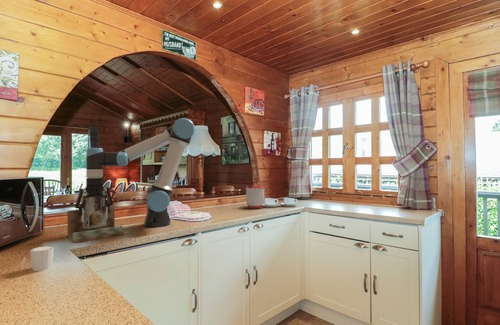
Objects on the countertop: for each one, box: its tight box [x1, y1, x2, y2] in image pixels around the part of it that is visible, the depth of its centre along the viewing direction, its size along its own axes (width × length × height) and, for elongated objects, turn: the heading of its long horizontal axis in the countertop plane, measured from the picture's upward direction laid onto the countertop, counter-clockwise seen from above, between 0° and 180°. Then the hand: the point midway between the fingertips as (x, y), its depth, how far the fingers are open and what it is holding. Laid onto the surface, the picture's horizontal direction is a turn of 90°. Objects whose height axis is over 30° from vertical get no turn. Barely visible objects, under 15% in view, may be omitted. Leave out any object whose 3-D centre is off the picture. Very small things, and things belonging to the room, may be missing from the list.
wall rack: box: [66, 205, 125, 244], centre depth 143 cm, size 22×18×13 cm
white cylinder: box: [29, 245, 55, 272], centre depth 99 cm, size 7×7×7 cm
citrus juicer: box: [245, 183, 265, 210], centre depth 228 cm, size 16×17×20 cm
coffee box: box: [82, 194, 107, 229], centre depth 144 cm, size 9×6×16 cm
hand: (94, 220), depth 144 cm, fingers closed on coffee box, 10 cm apart
